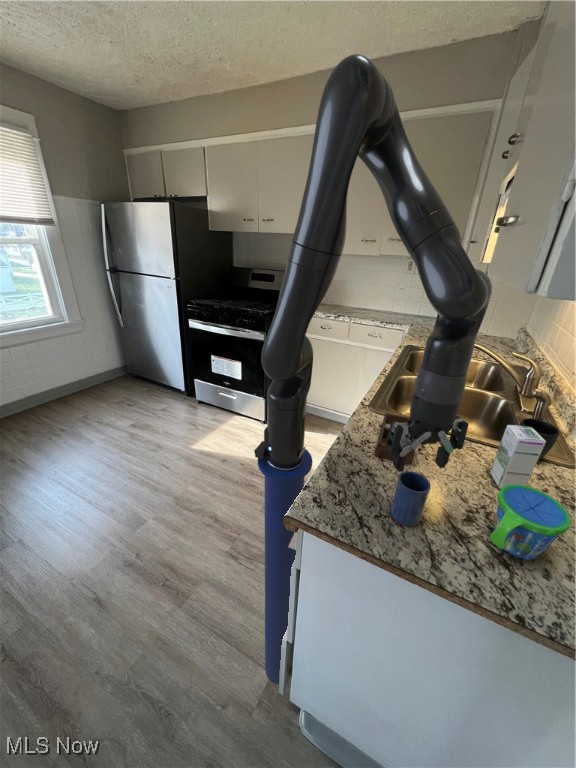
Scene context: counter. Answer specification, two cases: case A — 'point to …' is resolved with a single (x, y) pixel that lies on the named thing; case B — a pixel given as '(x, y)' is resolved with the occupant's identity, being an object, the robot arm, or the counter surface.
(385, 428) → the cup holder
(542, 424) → the mug
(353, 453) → the counter surface
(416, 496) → the tumbler
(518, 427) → the syrup box
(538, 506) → the snack cup
